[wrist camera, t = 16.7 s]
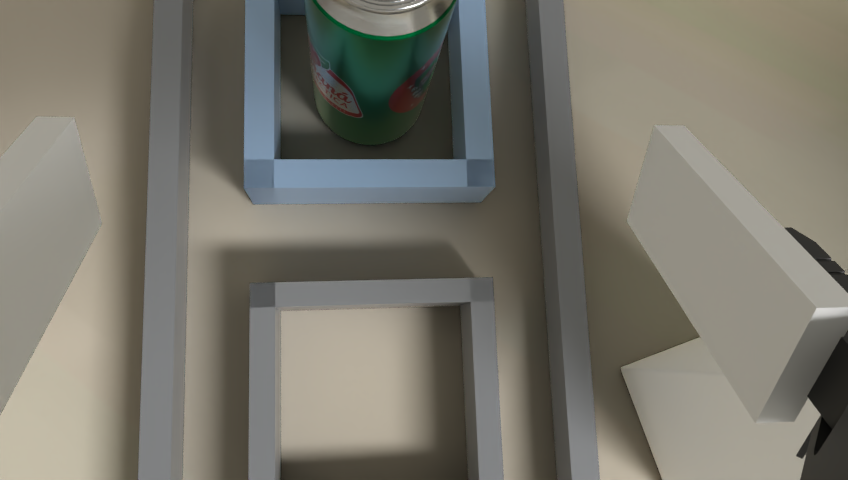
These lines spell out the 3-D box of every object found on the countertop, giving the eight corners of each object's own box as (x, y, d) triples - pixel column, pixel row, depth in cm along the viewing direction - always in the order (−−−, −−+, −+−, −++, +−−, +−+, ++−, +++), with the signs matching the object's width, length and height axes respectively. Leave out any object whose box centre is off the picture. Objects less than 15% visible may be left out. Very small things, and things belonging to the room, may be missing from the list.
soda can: (298, 66, 31) (272, -110, 19) (398, 34, 32) (431, -153, 20) (337, 163, 30) (334, 45, 19) (438, 128, 31) (495, -7, 19)
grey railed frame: (547, -16, 33) (567, -51, 30) (586, 530, 29) (614, 550, 26) (167, -29, 31) (149, -69, 28) (149, 562, 27) (125, 588, 24)
